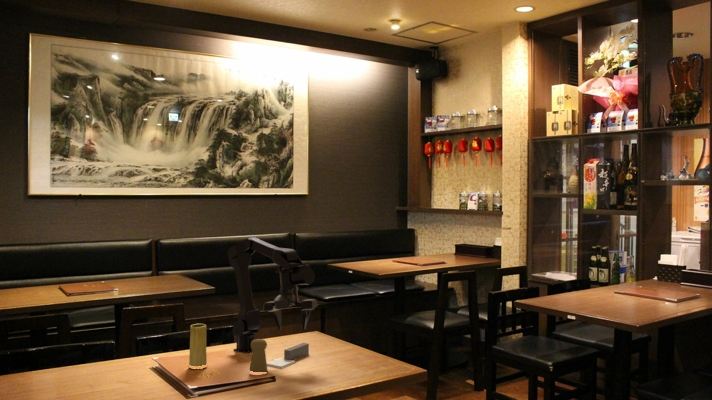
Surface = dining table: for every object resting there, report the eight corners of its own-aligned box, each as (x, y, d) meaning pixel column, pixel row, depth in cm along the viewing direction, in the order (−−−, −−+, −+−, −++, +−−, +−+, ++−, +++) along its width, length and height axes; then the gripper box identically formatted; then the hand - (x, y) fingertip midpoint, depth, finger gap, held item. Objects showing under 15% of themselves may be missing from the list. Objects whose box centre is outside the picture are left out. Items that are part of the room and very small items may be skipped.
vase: (184, 368, 200) (185, 326, 200) (196, 364, 205) (196, 322, 205) (199, 371, 197) (200, 328, 197) (210, 366, 203) (211, 324, 203)
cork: (252, 376, 192) (252, 342, 192) (246, 371, 198) (247, 338, 198) (270, 374, 195) (270, 340, 195) (264, 369, 201) (264, 336, 200)
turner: (264, 365, 205) (265, 354, 205) (298, 352, 223) (298, 341, 223) (281, 368, 202) (281, 356, 202) (313, 355, 219) (314, 344, 219)
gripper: (254, 289, 206) (257, 334, 205) (304, 285, 200) (307, 332, 199) (268, 285, 217) (272, 329, 216) (316, 282, 211) (320, 327, 210)
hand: (292, 329), depth 210 cm, fingers open, 9 cm apart
